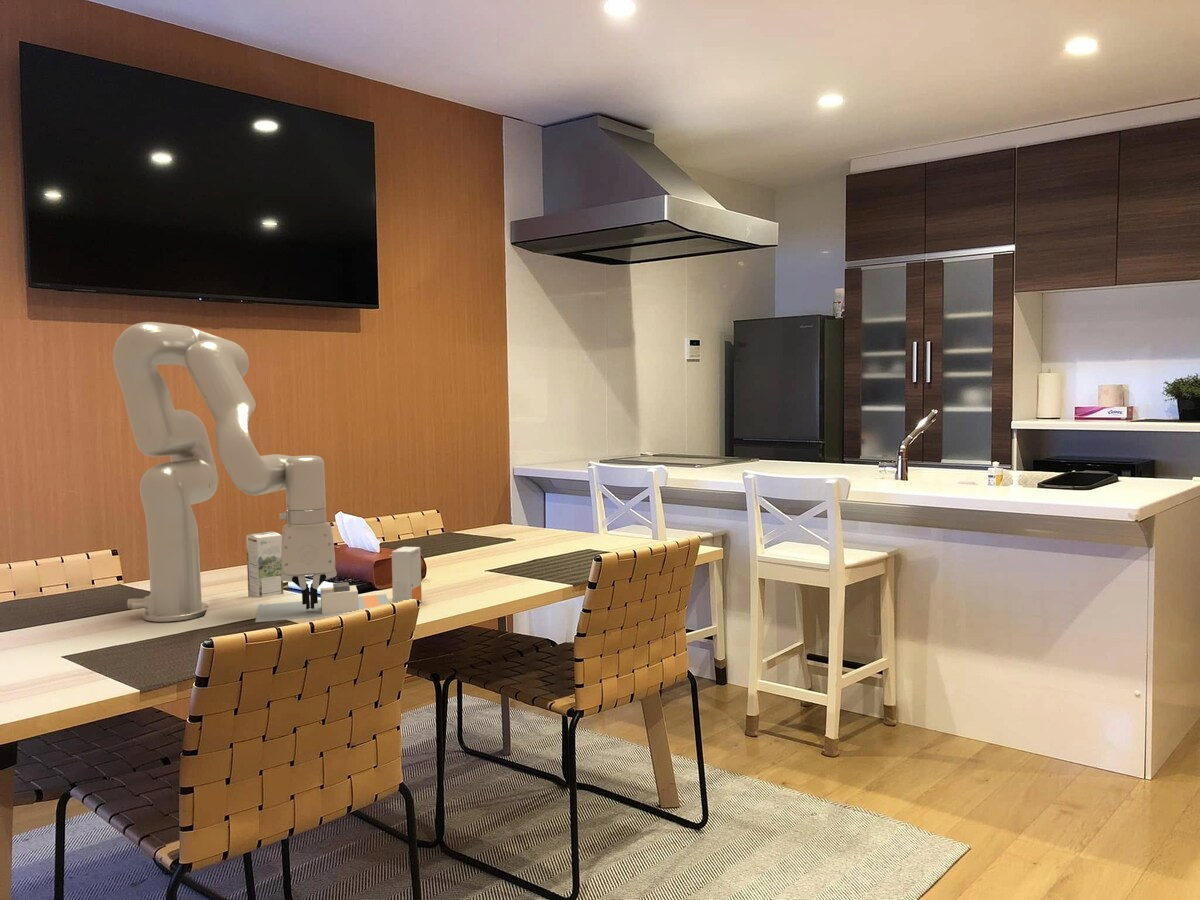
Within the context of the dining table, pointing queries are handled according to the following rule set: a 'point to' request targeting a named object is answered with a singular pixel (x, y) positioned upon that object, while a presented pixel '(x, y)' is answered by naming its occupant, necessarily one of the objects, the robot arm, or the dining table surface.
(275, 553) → the syrup box
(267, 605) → the board
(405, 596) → the skincare box
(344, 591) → the beige box
